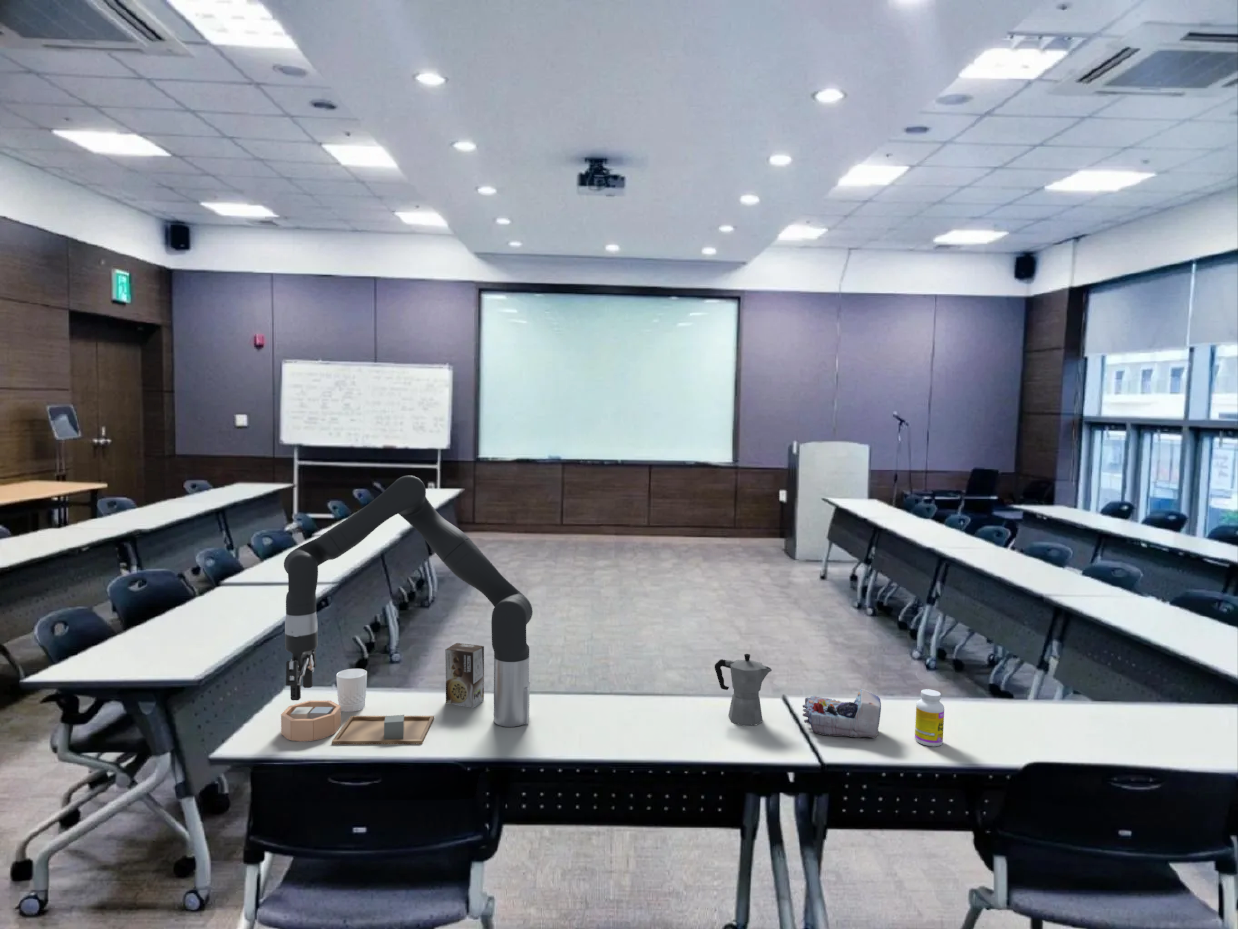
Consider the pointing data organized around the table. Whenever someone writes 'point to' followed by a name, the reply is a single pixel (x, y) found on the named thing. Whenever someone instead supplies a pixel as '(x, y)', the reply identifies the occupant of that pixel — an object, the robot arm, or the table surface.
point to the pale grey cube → (301, 713)
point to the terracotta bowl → (311, 722)
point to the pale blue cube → (320, 712)
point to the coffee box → (464, 674)
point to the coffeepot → (744, 689)
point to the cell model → (844, 715)
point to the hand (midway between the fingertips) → (301, 693)
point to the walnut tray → (382, 730)
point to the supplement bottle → (929, 718)
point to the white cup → (351, 689)
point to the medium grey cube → (394, 727)
